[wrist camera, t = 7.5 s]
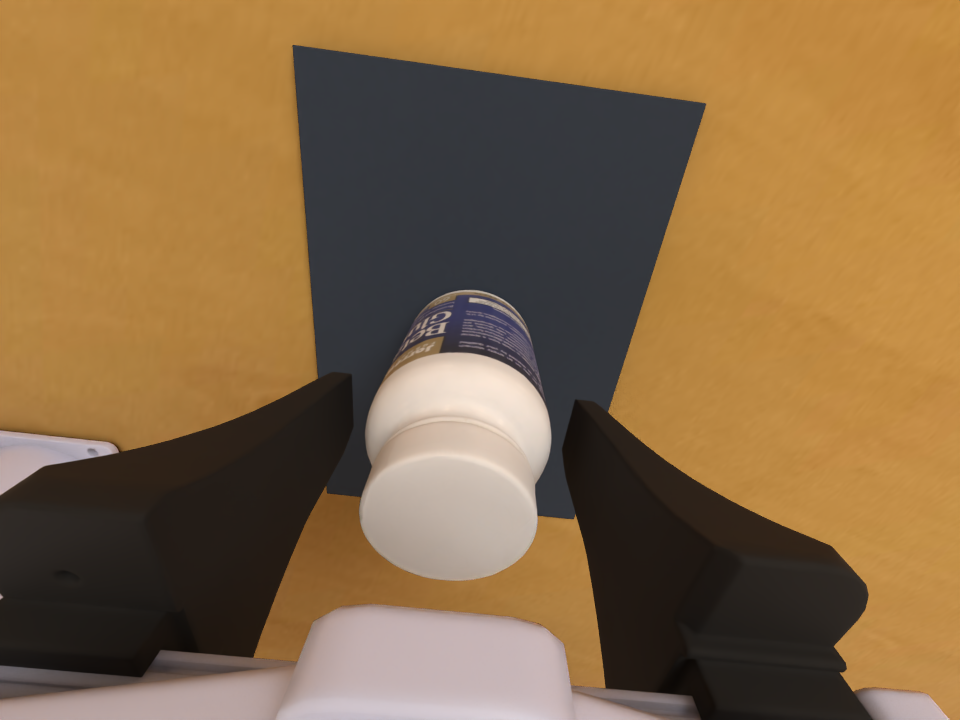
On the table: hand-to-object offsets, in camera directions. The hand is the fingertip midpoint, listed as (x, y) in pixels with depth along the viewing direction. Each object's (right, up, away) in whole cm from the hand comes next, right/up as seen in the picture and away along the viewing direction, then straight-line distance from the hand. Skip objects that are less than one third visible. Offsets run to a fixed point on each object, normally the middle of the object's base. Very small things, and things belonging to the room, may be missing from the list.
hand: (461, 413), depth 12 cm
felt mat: (0, +3, +5) cm, 6 cm away
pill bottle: (0, +3, +5) cm, 6 cm away
